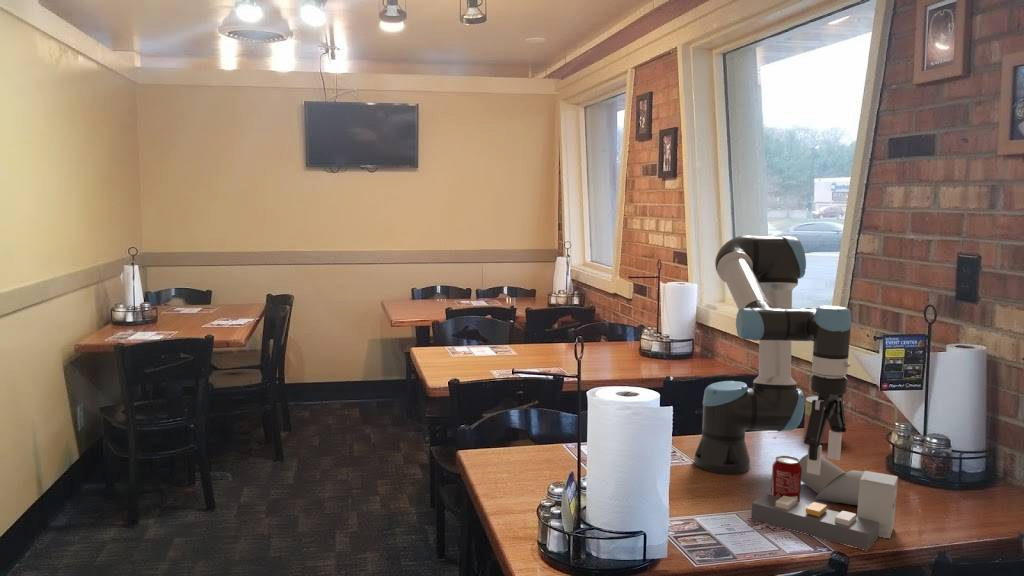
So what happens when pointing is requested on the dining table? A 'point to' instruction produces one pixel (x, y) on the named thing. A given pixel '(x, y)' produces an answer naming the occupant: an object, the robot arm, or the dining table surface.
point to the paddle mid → (816, 509)
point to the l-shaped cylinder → (832, 482)
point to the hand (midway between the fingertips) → (823, 466)
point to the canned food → (807, 417)
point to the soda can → (786, 477)
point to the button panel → (816, 521)
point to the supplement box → (878, 500)
